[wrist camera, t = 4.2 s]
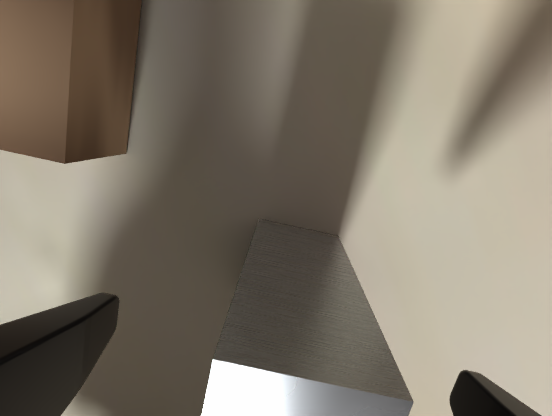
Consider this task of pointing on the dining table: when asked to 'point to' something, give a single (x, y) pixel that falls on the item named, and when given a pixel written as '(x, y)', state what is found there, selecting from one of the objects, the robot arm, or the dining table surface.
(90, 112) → the socket block
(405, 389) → the square bit
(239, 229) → the dining table surface
